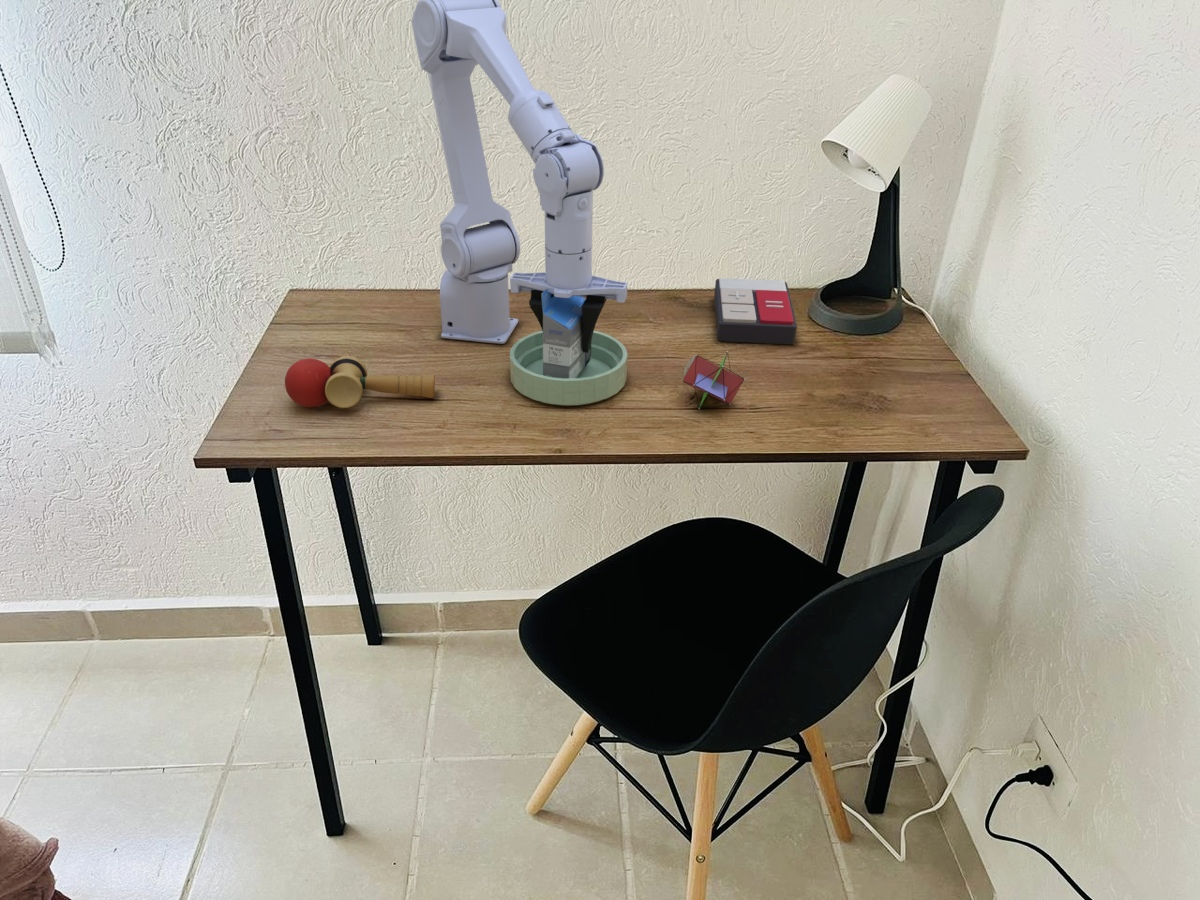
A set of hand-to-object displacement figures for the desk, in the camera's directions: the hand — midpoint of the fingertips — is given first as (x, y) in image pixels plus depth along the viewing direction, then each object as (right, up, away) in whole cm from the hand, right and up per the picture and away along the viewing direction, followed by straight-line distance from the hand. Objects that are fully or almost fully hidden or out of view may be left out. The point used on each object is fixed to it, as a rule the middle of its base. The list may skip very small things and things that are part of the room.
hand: (568, 347), depth 118 cm
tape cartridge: (0, -3, +2) cm, 4 cm away
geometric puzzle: (+18, -7, -2) cm, 20 cm away
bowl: (0, -4, +3) cm, 5 cm away
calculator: (+27, +6, +19) cm, 34 cm away
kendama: (-26, -7, -3) cm, 27 cm away
